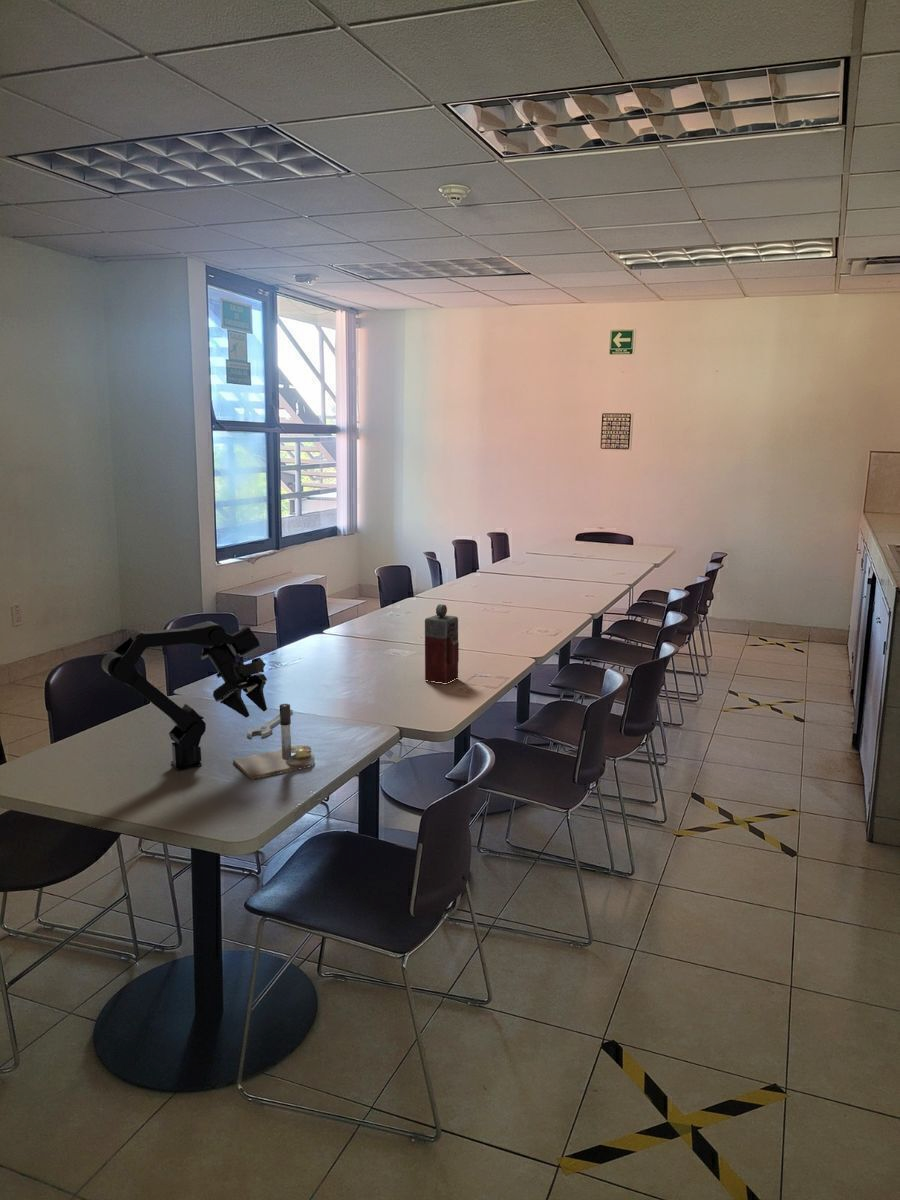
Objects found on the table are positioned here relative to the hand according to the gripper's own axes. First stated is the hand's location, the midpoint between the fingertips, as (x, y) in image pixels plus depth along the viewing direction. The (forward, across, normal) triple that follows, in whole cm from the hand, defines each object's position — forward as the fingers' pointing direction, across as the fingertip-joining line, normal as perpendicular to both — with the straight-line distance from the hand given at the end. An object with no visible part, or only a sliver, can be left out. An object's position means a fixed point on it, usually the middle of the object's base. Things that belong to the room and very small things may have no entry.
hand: (256, 713), depth 226 cm
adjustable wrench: (+2, +31, +15) cm, 34 cm away
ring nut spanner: (+15, +2, -2) cm, 16 cm away
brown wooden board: (+14, +2, +4) cm, 15 cm away
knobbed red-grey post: (+16, +92, -17) cm, 96 cm away
